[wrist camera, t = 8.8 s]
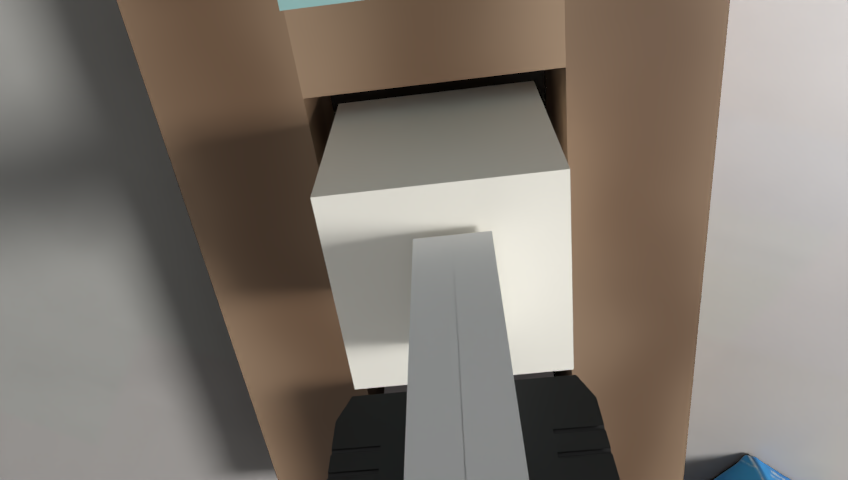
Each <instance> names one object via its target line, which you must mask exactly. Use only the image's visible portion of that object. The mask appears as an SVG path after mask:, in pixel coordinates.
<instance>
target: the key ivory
mask: <svg viewBox="0 0 848 480" xmlns="http://www.w3.org/2000/svg"><path fill="white" fill-rule="evenodd" d="M310 199H311V203H312V207H313V212H314V216H315V220H316V224H317V229H318V233H319V237H320V242H321V246H322V250H323V255H324V259H325V263H326V268H327V272H328V276H329V280H330V285H331V289H332V293H333V298H334V302H335V306H336V311H337V315H338V319H339V324H340V328H341V332H342V336H343V341H344V345H345V349H346V354H347V358H348V362H349V367H350V371H351V375H352V379H353V384H354V388H355V389H366V388H377V387H387V386H398V385H407V381H408V354H409V328H410V302H411V276H412V250H413V239H417V238H427V237H437V236H446V235H456V234H466V233H475V232H485V231H492V236H493V243H494V249H495V256H496V263H497V269H498V276H499V283H500V289H501V296H502V303H503V309H504V316H505V323H506V329H507V336H508V342H509V349H510V356H511V362H512V369H513V375H518V374H529V373H540V372H551V371H562V370H573V369H574V355H573V300H572V244H571V189H570V167H569V165H568V163H567V160H566V158H565V155H564V153H563V150H562V148H561V146H560V143H559V141H558V138H557V136H556V134H555V131H554V129H553V126H552V124H551V121H550V119H549V117H548V114H547V112H546V109H545V107H544V104H543V102H542V100H541V97H540V95H539V92H538V90H537V88H536V85H535V83H534V81H527V82H519V83H511V84H502V85H494V86H485V87H477V88H468V89H460V90H451V91H443V92H435V93H426V94H418V95H409V96H401V97H392V98H384V99H375V100H367V101H359V102H350V103H342V104H338V108H337V111H336V114H335V118H334V121H333V124H332V128H331V131H330V134H329V137H328V141H327V144H326V147H325V151H324V154H323V157H322V160H321V164H320V167H319V170H318V174H317V177H316V180H315V184H314V187H313V190H312V193H311V197H310Z"/></svg>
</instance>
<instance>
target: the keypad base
mask: <svg viewBox="0 0 848 480" xmlns="http://www.w3.org/2000/svg"><path fill="white" fill-rule="evenodd" d="M117 3H118V6H119V9H120V12H121V15H122V18H123V21H124V24H125V27H126V30H127V33H128V36H129V39H130V42H131V45H132V48H133V51H134V54H135V57H136V60H137V63H138V66H139V69H140V72H141V75H142V78H143V81H144V84H145V87H146V90H147V92H148V95H149V98H150V101H151V104H152V107H153V110H154V113H155V116H156V119H157V122H158V125H159V128H160V131H161V134H162V137H163V140H164V143H165V146H166V149H167V152H168V155H169V158H170V161H171V164H172V167H173V170H174V173H175V176H176V179H177V181H178V184H179V187H180V190H181V193H182V196H183V199H184V202H185V205H186V208H187V211H188V214H189V217H190V220H191V223H192V226H193V229H194V232H195V235H196V238H197V241H198V244H199V247H200V250H201V253H202V256H203V259H204V262H205V265H206V268H207V271H208V273H209V276H210V279H211V282H212V285H213V288H214V291H215V294H216V297H217V300H218V303H219V306H220V309H221V312H222V315H223V318H224V321H225V324H226V327H227V330H228V333H229V336H230V339H231V342H232V345H233V348H234V351H235V354H236V357H237V360H238V363H239V365H240V368H241V371H242V374H243V377H244V380H245V383H246V386H247V389H248V392H249V395H250V398H251V401H252V404H253V407H254V410H255V413H256V416H257V419H258V422H259V425H260V428H261V431H262V434H263V437H264V440H265V443H266V446H267V449H268V452H269V454H270V457H271V460H272V463H273V466H274V469H275V472H276V475H277V478H278V480H327V479H328V468H329V462H330V455H332V450H331V449H332V442H333V436H334V429H335V423H336V420H337V419H338V417H339V416H340V414H341V413H342V411H343V410H344V408H345V407H346V405H347V404H348V402H349V401H350V399H351V397H352V396H362V395H373V394H384V389H385V387H377V388H366V389H355V388H354V384H353V379H352V375H351V371H350V367H349V362H348V358H347V354H346V349H345V345H344V341H343V336H342V332H341V328H340V324H339V319H338V315H337V311H336V306H335V302H334V298H333V293H332V289H331V285H330V280H329V276H328V272H327V268H326V263H325V259H324V255H323V250H322V246H321V242H320V237H319V233H318V229H317V224H316V220H315V216H314V212H313V207H312V203H311V199H310V197H311V193H312V190H313V187H314V184H315V180H316V177H317V174H318V170H319V167H320V164H321V160H322V157H323V154H324V151H325V147H326V144H327V141H328V137H329V134H330V131H331V128H332V124H333V121H334V118H335V116H334V111H333V106H332V101H331V96H330V95H338V94H347V93H355V92H363V91H372V90H380V89H389V88H397V87H405V86H414V85H422V84H430V83H439V82H447V81H456V80H464V79H472V78H481V77H489V76H498V75H506V74H514V73H523V72H531V71H539V70H545V87H546V112H547V114H548V117H549V119H550V121H551V124H552V126H553V129H554V131H555V134H556V136H557V138H558V141H559V143H560V146H561V148H562V150H563V153H564V155H565V158H566V160H567V163H568V165H569V167H570V189H571V244H572V300H573V355H574V369H573V370H562V371H556V376H567V375H577V376H578V377H579V379H580V380H581V381H582V382H583V383H584V384H585V385H586V386H587V387H588V389H589V390H590V391H591V392H592V393H593V394H594V395H595V396H596V398H597V401H598V405H599V408H600V412H601V415H602V419H603V422H604V428H605V430H606V433H607V436H608V440H609V443H610V447H611V453H612V454H613V457H614V461H615V464H616V468H617V471H618V474H619V478H620V480H683V477H684V467H685V457H686V447H687V436H688V426H689V416H690V405H691V395H692V385H693V374H694V364H695V354H696V344H697V333H698V323H699V313H700V302H701V292H702V282H703V272H704V261H705V251H706V241H707V230H708V220H709V210H710V199H711V189H712V179H713V169H714V158H715V148H716V138H717V127H718V117H719V107H720V97H721V86H722V76H723V66H724V55H725V45H726V35H727V24H728V14H729V4H730V0H361V1H354V2H346V3H338V4H330V5H322V6H314V7H307V8H299V9H291V10H283V11H280V10H279V5H278V1H277V0H117Z"/></svg>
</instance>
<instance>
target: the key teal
mask: <svg viewBox="0 0 848 480" xmlns="http://www.w3.org/2000/svg"><path fill="white" fill-rule="evenodd" d="M277 1H278V5H279V10H280V11H283V10H291V9H299V8H307V7H314V6H322V5H330V4H338V3H346V2H354V1H361V0H277Z"/></svg>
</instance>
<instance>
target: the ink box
mask: <svg viewBox="0 0 848 480" xmlns="http://www.w3.org/2000/svg"><path fill="white" fill-rule="evenodd" d="M714 480H790V479H789V478H787V477H785V476H783V475H782V474H780V473H779V472H777V471H776V470H774V469H773V468H771V467H770V466H768V465H766V464H765V463H763V462H761V461H760V460H759V459H757V458H756V457H753V456H749V455H745V456H743V457H742V458H741V459H740V460H739V462H738V463H736V464H735V465H734V466H732V467H731V468H729V469H728V470H726V471H725V472H723V473H722V474H721V475H719V476H718V477H716V478H715V479H714Z"/></svg>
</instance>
